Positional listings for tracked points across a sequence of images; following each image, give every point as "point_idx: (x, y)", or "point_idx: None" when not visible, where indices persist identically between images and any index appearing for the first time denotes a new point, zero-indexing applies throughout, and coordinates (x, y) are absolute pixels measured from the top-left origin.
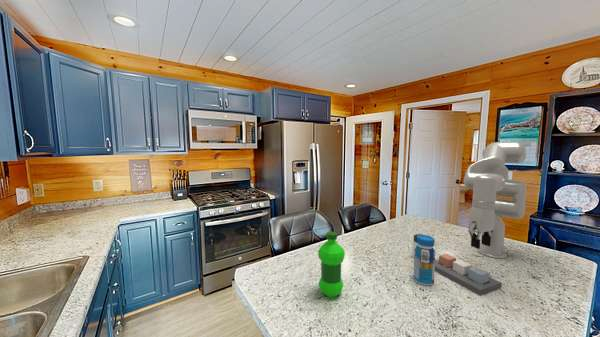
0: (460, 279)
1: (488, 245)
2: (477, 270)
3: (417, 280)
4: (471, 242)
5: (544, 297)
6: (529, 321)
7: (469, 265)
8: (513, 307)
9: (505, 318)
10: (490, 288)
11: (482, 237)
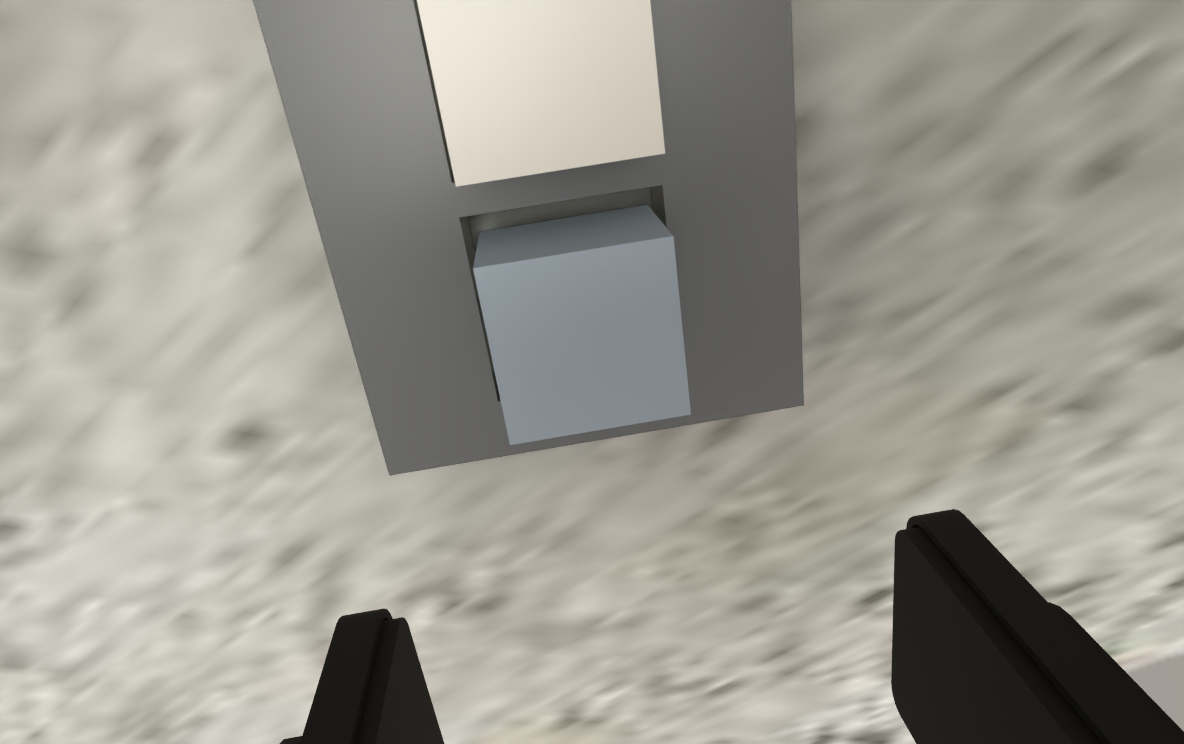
0: (323, 244)
1: (902, 704)
2: (576, 333)
3: None
4: (318, 722)
5: None
6: (501, 732)
7: (605, 162)
8: (557, 610)
9: None
10: None
11: (1045, 728)
